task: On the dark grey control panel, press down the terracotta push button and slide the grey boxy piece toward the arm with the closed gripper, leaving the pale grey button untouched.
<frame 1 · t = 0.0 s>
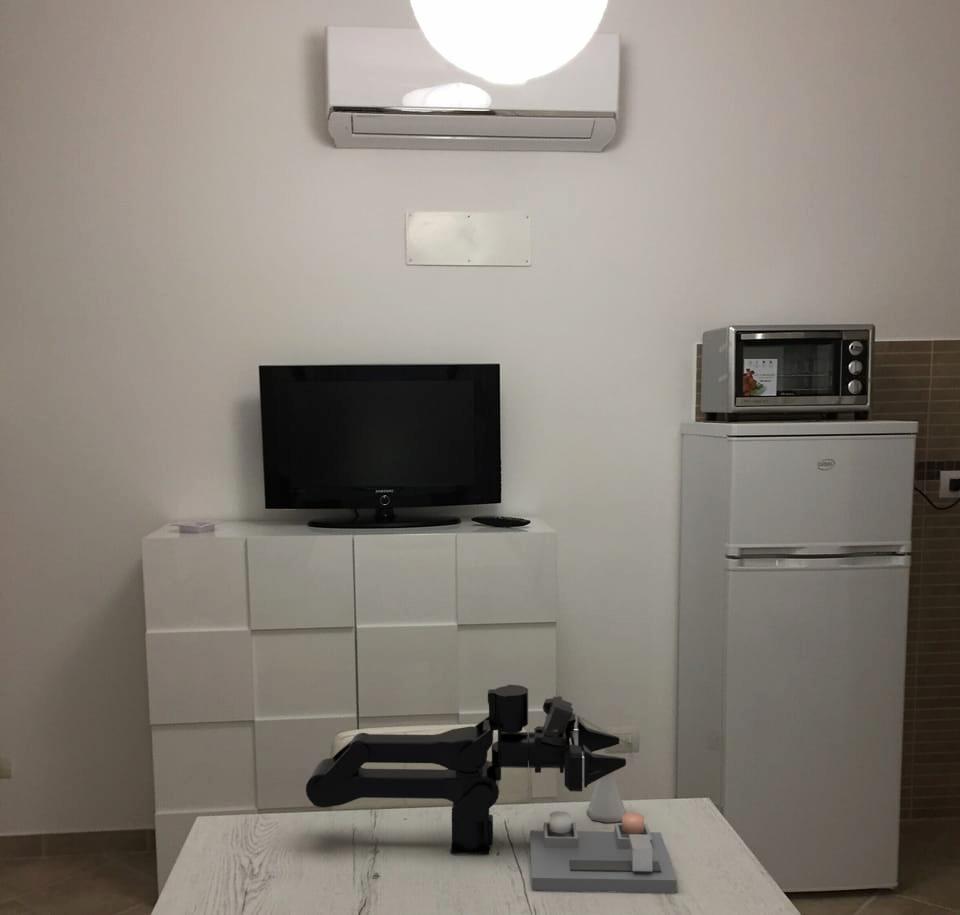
hand: (622, 750, 145), 17 cm above the table, tool horizontal, fingers open, 9 cm apart
flask: (606, 815, 158), on the table
grey button: (560, 822, 145), point 5 cm above the table, slide at 0.0 cm
panel: (599, 866, 140), on the table
grey boxy piece: (640, 852, 136), point 4 cm above the table, slide at 0.0 cm
terracotta button: (633, 823, 144), point 5 cm above the table, slide at 0.0 cm
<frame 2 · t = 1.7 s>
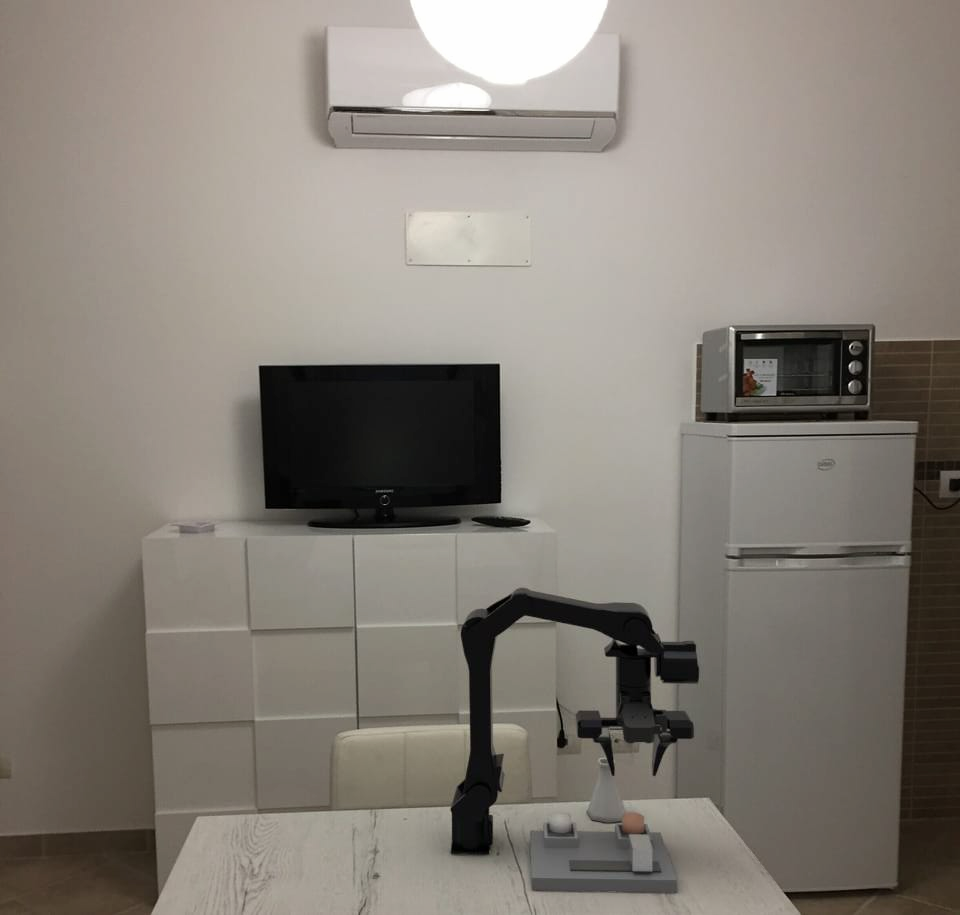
hand: (633, 775, 144), 13 cm above the table, tool pointing down, fingers open, 6 cm apart
nothing on the table moved.
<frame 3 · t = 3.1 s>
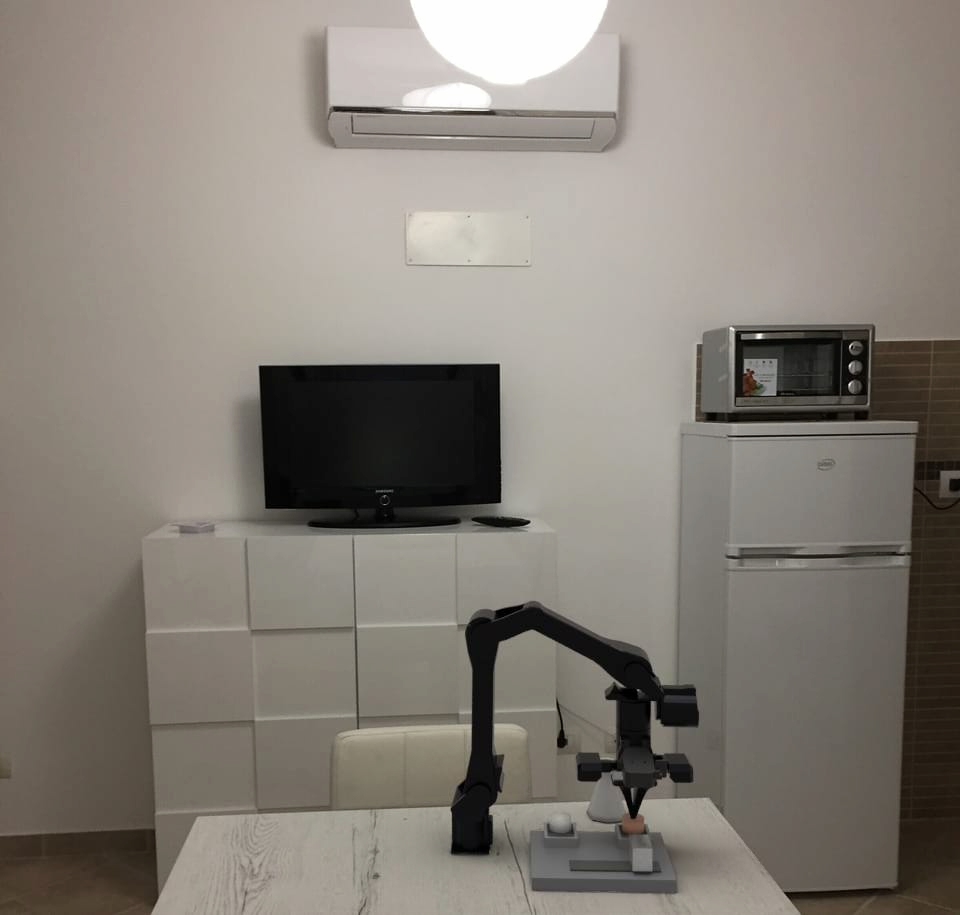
hand: (632, 817, 144), 6 cm above the table, tool pointing down, fingers closed, pressing on terracotta button
terracotta button: (633, 823, 144), point 5 cm above the table, slide at 0.1 cm, touching gripper
everything else where it was.
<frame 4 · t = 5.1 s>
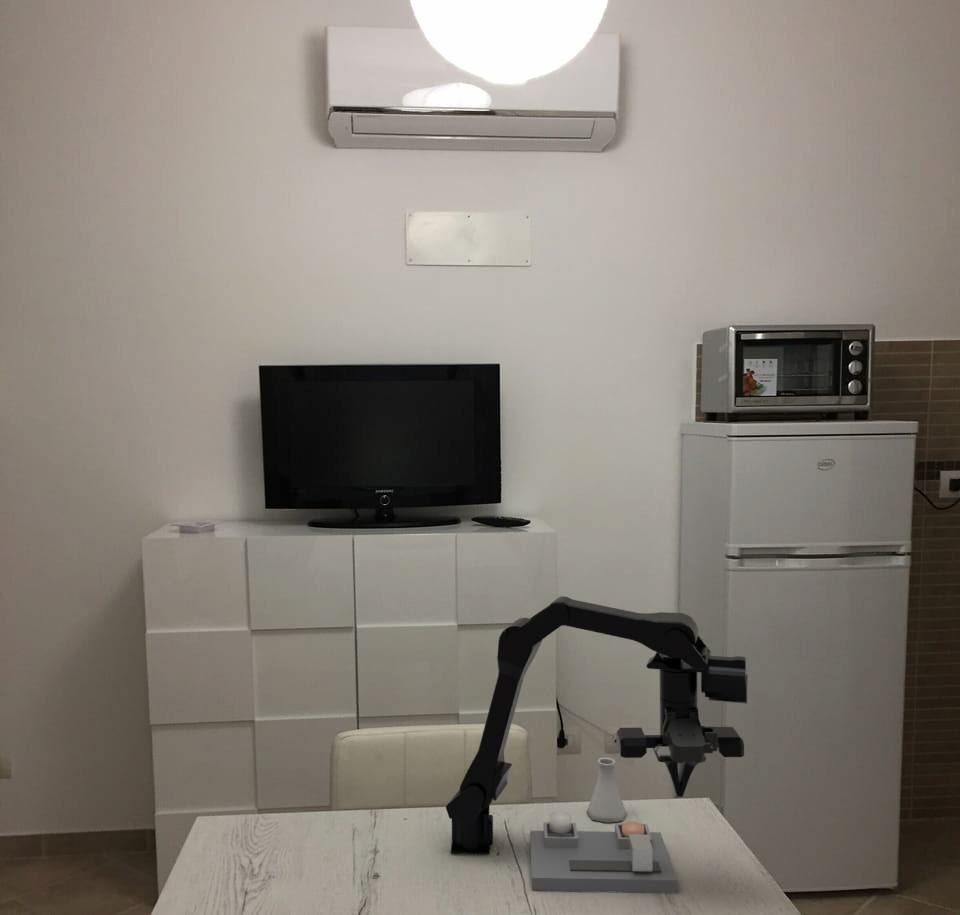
hand: (679, 796, 135), 13 cm above the table, tool pointing down, fingers closed
terracotta button: (633, 832, 144), point 3 cm above the table, slide at 1.6 cm
everything else where it was.
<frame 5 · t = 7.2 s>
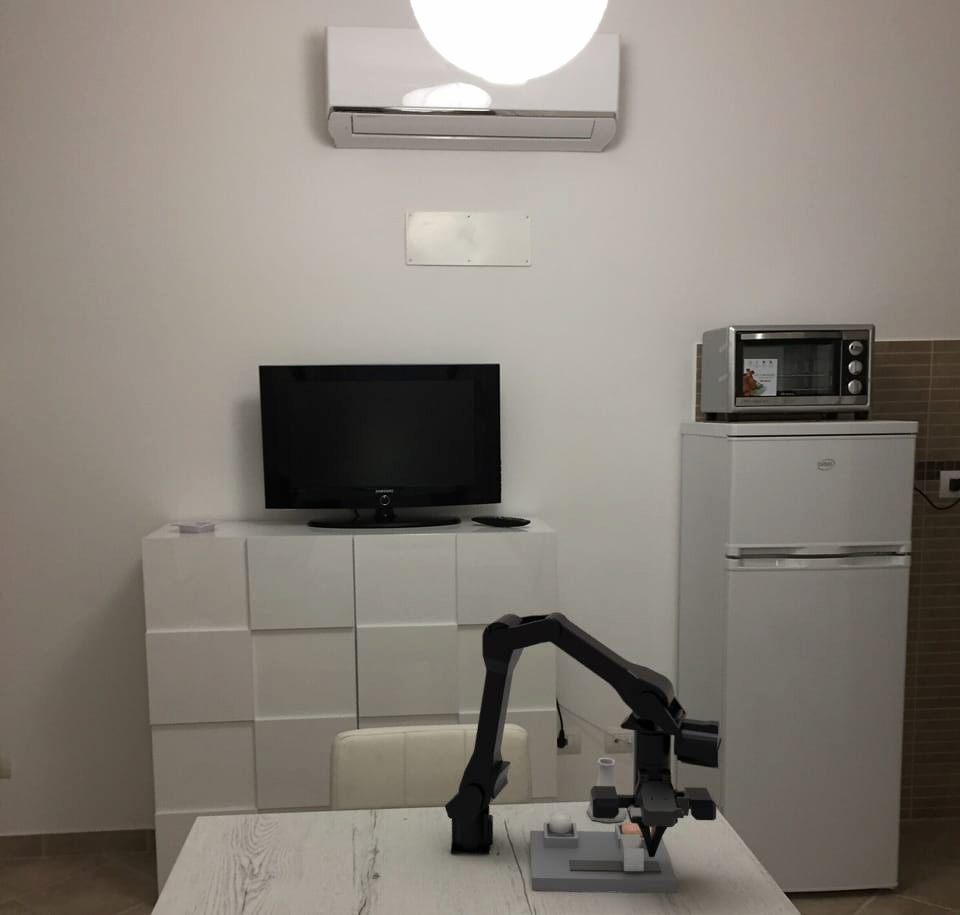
hand: (651, 856, 136), 4 cm above the table, tool pointing down, fingers closed
grey boxy piece: (631, 852, 136), point 4 cm above the table, slide at 1.3 cm, touching gripper
everything else where it was.
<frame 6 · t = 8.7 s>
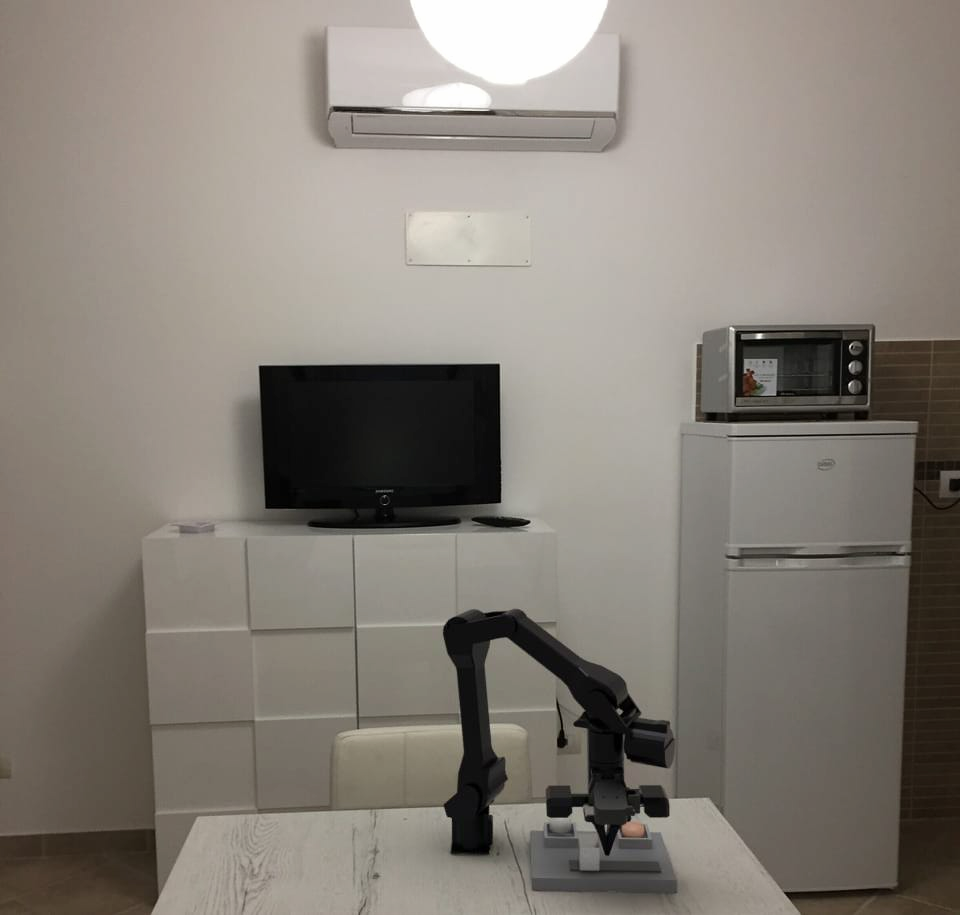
hand: (606, 854, 136), 4 cm above the table, tool pointing down, fingers closed
grey boxy piece: (588, 851, 136), point 4 cm above the table, slide at 8.1 cm, touching gripper
everything else where it was.
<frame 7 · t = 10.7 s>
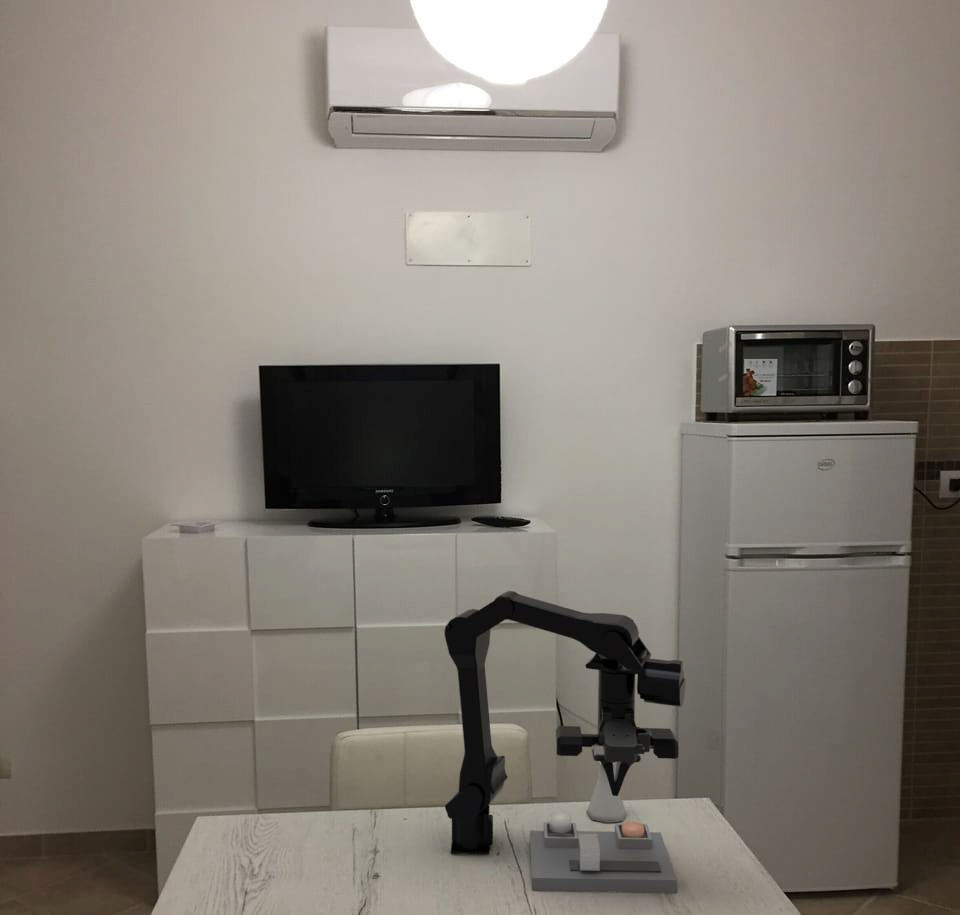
hand: (614, 794, 138), 13 cm above the table, tool pointing down, fingers closed
grey boxy piece: (588, 851, 136), point 4 cm above the table, slide at 8.0 cm
everything else where it was.
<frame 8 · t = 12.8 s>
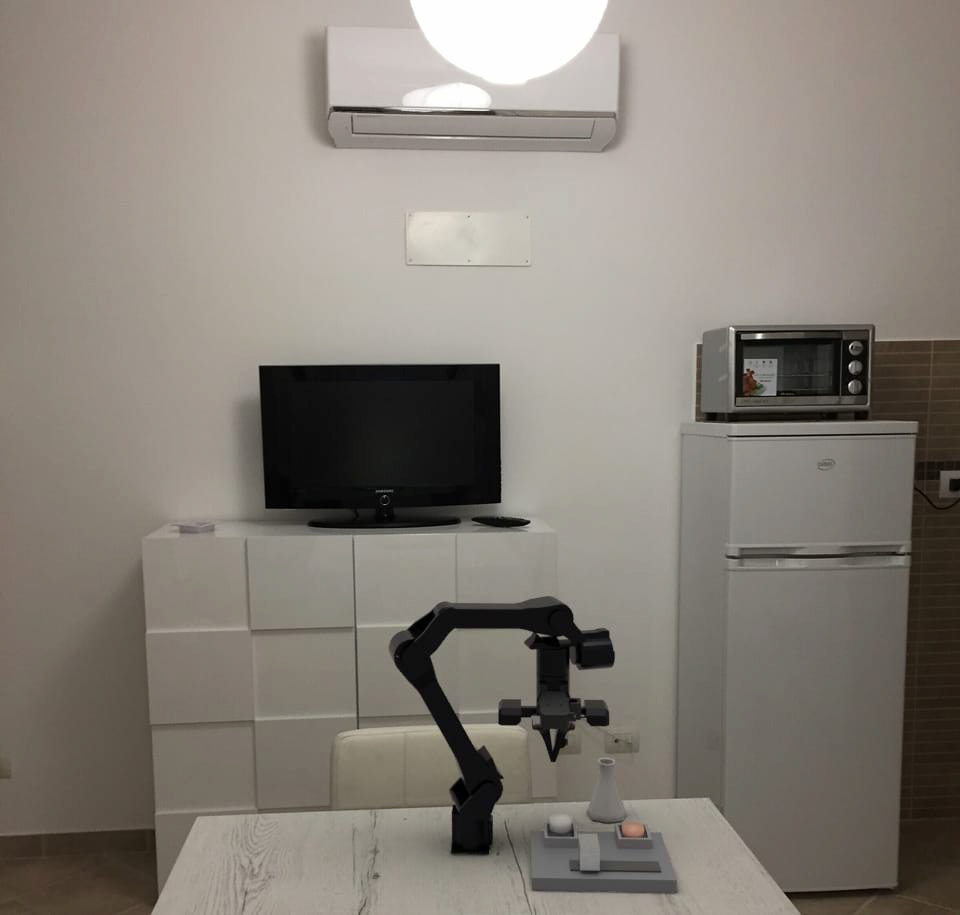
hand: (553, 761, 150), 13 cm above the table, tool pointing down, fingers closed
nothing on the table moved.
at the end: terracotta button slide at 1.6 cm; grey boxy piece slide at 8.0 cm; grey button slide at 0.0 cm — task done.
